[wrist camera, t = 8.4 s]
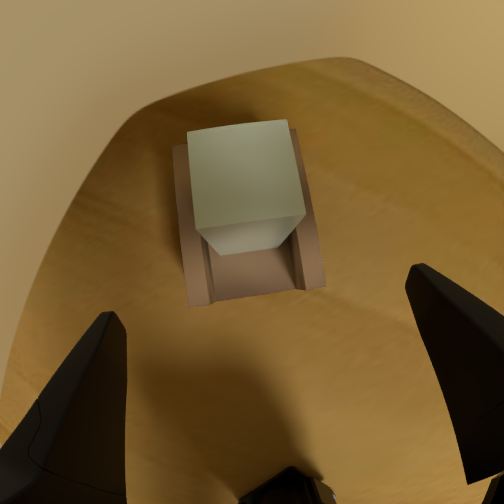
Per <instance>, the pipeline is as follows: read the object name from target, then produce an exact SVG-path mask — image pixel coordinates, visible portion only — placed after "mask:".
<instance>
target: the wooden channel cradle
mask: <svg viewBox="0 0 504 504" xmlns="http://www.w3.org/2000/svg"><path fill="white" fill-rule="evenodd" d="M289 132H290V136H291V141H292V145H293V150H294V154H295V159H296V164H297V169H298V173H299V178H300V183H301V188H302V194H303V199H304V204H305V210H306V215H305V216H304V218H303V219H302V220H301V221H300V222H299V223H298V225H297V226H296V227H295V228H294V229H293V231H292V232H291V233H290V234H289V235H288V236H287V238H286V239H285V240H284V241H283V242H282V244H281V245H280V246H279V247H278V248H271V249H264V250H257V251H250V252H243V253H236V254H229V255H222V256H220V255H219V254H218V253H217V252H216V251H215V250H214V248H213V247H212V246H211V245H210V244H209V243H208V242H207V241H206V240H205V239H204V238H203V237H202V236H201V235H200V233H199V232H198V231H197V230H196V227H195V218H194V208H193V199H192V188H191V178H190V166H189V154H188V143H185V144H179V145H174V146H172V154H173V169H174V182H175V194H176V205H177V215H178V225H179V234H180V243H181V251H182V259H183V267H184V275H185V282H186V289H187V296H188V303H189V308H190V307H198V306H205V305H211V304H212V303H214V302H216V301H222V300H229V299H236V298H243V297H249V296H256V295H262V294H269V293H275V292H281V291H287V290H294V289H300V290H310V289H315V288H321V287H326V282H325V276H324V269H323V263H322V257H321V251H320V245H319V239H318V234H317V228H316V223H315V218H314V212H313V207H312V202H311V197H310V192H309V187H308V183H307V178H306V173H305V169H304V164H303V160H302V155H301V151H300V146H299V142H298V138H297V134H296V130H295V129H289Z"/></svg>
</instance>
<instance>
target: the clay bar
mask: <svg viewBox="0 0 504 504" xmlns="http://www.w3.org/2000/svg"><path fill="white" fill-rule="evenodd" d="M187 141H188V154H189V166H190V178H191V188H192V199H193V208H194V218H195V227H196V230H197V231H198V232H199V233H200V235H201V236H202V237H203V238H204V239H205V240H206V241H207V242H208V243H209V244H210V245H211V246H212V247H213V248H214V250H215V251H216V252H217V253H218V254H219V255H220V256H222V255H229V254H236V253H243V252H250V251H257V250H264V249H271V248H278V247H279V246H280V245H281V244H282V242H283V241H284V240H285V239H286V238H287V236H288V235H289V234H290V233H291V232H292V231H293V229H294V228H295V227H296V226H297V225H298V223H299V222H300V221H301V220H302V219H303V218H304V216H305V215H306V210H305V204H304V199H303V194H302V188H301V183H300V178H299V173H298V169H297V164H296V159H295V154H294V150H293V145H292V141H291V136H290V132H289V127H288V123H287V119H285V120H273V121H262V122H252V123H244V124H236V125H228V126H221V127H214V128H208V129H201V130H195V131H190V132H187Z"/></svg>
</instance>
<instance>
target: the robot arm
mask: <svg viewBox="0 0 504 504" xmlns="http://www.w3.org/2000/svg"><path fill="white" fill-rule="evenodd" d="M405 290H406V293H407V296H408V299H409V302H410V305H411V308H412V311H413V314H414V317H415V320H416V324H417V327H418V330H419V332H420V335H421V337H422V340H423V342H424V345H425V347H426V350H427V352H428V355H429V357H430V360H431V362H432V365H433V368H434V370H435V373H436V376H437V379H438V381H439V384H440V387H441V390H442V393H443V396H444V399H445V402H446V405H447V408H448V411H449V414H450V418H451V421H452V424H453V428H454V431H455V435H456V439H457V443H458V447H459V450H460V454H461V459H462V463H463V467H464V472H465V476H466V481H467V484H468V485H469V484H472V483H475V482H478V481H480V480H483V479H486V478H488V477H491V476H493V475H496V474H498V473H500V472H501V473H500V474H498V475H497V476H496V477H494V478H493V479H492V480H491V483H490V485H489V488H488V490H487V493H486V495H485V498H484V500H483V502H482V504H504V316H503V315H502V314H500V313H499V312H497V311H496V310H495V309H493V308H492V307H490V306H489V305H487V304H486V303H485V302H483V301H482V300H480V299H479V298H477V297H476V296H474V295H473V294H471V293H470V292H468V291H467V290H465V289H464V288H462V287H461V286H459V285H458V284H456V283H455V282H453V281H452V280H450V279H448V278H447V277H445V276H444V275H442V274H441V273H439V272H437V271H436V270H434V269H433V268H431V267H429V266H428V265H426V264H424V263H420V264H415V265H412V266H411V268H410V271H409V274H408V277H407V280H406V283H405ZM126 393H127V334H126V330H125V327H124V326H123V324H122V322H121V321H120V319H119V318H118V316H117V314H116V313H115V312H113V311H109V312H102V313H101V314H100V315H99V316H98V317H97V318H96V320H95V321H94V322H93V323H92V325H91V326H90V327H89V328H88V330H87V331H86V332H85V334H84V335H83V336H82V337H81V339H80V340H79V341H78V343H77V344H76V345H75V346H74V348H73V349H72V350H71V352H70V353H69V354H68V356H67V357H66V358H65V360H64V361H63V362H62V364H61V365H60V367H59V368H58V369H57V371H56V372H55V373H54V375H53V376H52V378H51V379H50V380H49V382H48V383H47V385H46V386H45V388H44V389H43V390H42V392H41V393H40V395H39V396H38V399H36V401H35V402H34V403H33V405H32V406H31V408H30V409H29V411H28V412H27V414H26V415H25V417H24V418H23V419H22V421H21V422H20V423H19V425H18V426H17V428H16V429H15V430H14V432H13V433H12V434H11V435H10V437H9V438H8V439H7V441H6V442H5V443H4V445H3V446H2V447H1V449H0V504H127V498H126V482H125V414H126ZM290 471H294V472H292V473H289V472H290ZM335 498H336V496H335V494H334V493H333V492H331V490H330V488H329V487H328V486H327V485H325V484H324V483H322V482H321V481H319V480H318V479H316V478H315V477H313V476H307V475H306V474H304V473H303V472H301V471H300V470H299V469H297V468H296V467H293V466H291V467H288V468H286V469H285V470H284V471H282V472H281V473H279V474H278V475H276V476H275V477H273V478H272V479H270V480H269V481H267V482H266V483H264V484H263V485H261V486H260V487H258V488H256V489H255V490H253V491H252V492H250V493H248V494H247V495H245V496H243V497H242V498H240V499H239V500H238V504H336V501H335ZM243 502H245V503H243Z"/></svg>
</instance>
